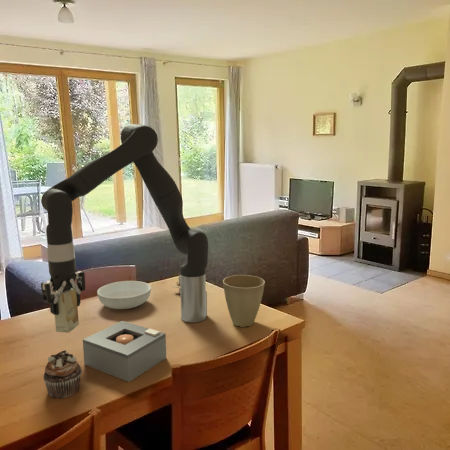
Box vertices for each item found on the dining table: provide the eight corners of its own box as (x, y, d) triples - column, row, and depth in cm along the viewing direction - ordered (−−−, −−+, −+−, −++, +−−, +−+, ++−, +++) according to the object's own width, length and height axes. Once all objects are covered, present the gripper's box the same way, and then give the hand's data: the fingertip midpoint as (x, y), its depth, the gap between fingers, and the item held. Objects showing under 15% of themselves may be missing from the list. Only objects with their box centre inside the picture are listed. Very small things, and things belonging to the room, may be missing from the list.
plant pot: (253, 335, 151) (253, 290, 148) (215, 326, 158) (215, 283, 155) (270, 319, 164) (271, 278, 161) (235, 312, 171) (235, 272, 168)
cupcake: (36, 393, 117) (33, 358, 115) (66, 376, 125) (64, 343, 123) (60, 404, 112) (57, 368, 110) (90, 386, 120) (88, 352, 118)
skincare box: (68, 333, 132) (65, 294, 129) (55, 332, 133) (51, 293, 130) (80, 324, 138) (76, 287, 136) (67, 323, 139) (63, 286, 136)
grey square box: (123, 343, 145) (122, 318, 144) (166, 358, 136) (165, 331, 134) (84, 364, 132) (82, 337, 130) (128, 382, 123) (127, 353, 121)
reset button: (125, 345, 137) (124, 332, 136) (137, 349, 134) (136, 336, 133) (113, 351, 132) (112, 339, 132) (125, 356, 130) (124, 343, 129)
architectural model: (183, 297, 189) (183, 280, 187) (171, 293, 193) (171, 277, 191) (189, 294, 191) (188, 278, 190) (177, 291, 195) (176, 275, 194)
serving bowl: (127, 292, 193) (126, 277, 191) (162, 302, 181) (161, 286, 179) (86, 307, 176) (85, 290, 175) (122, 319, 164) (122, 302, 163)
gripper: (48, 265, 123) (54, 321, 126) (89, 253, 135) (93, 304, 138) (31, 261, 127) (37, 315, 130) (73, 250, 139) (77, 300, 142)
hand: (66, 309), depth 134 cm, fingers closed on skincare box, 7 cm apart
